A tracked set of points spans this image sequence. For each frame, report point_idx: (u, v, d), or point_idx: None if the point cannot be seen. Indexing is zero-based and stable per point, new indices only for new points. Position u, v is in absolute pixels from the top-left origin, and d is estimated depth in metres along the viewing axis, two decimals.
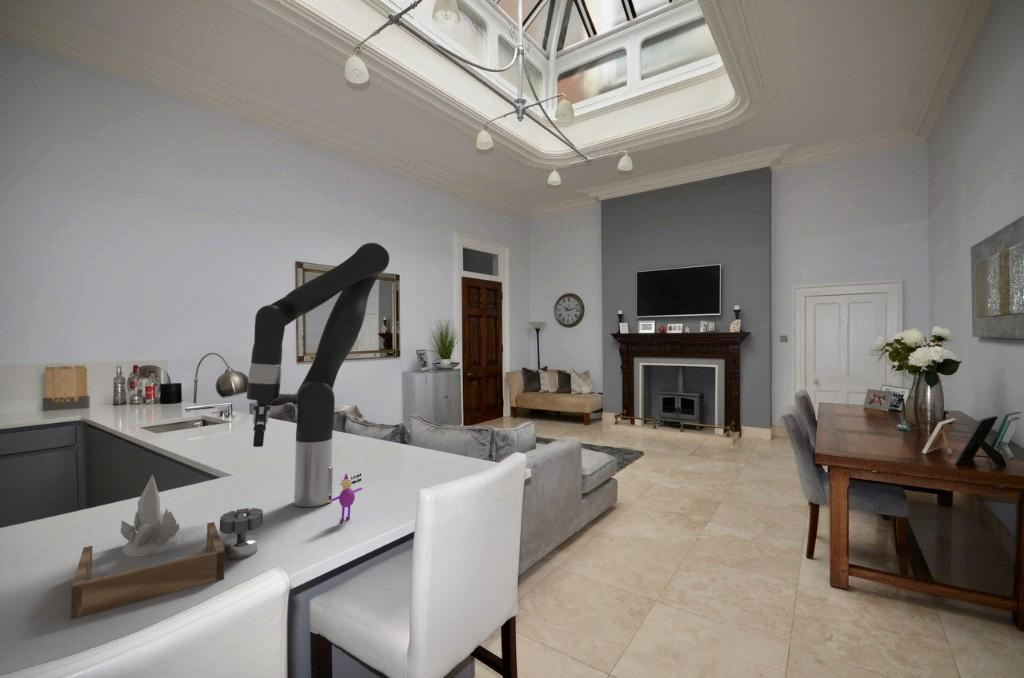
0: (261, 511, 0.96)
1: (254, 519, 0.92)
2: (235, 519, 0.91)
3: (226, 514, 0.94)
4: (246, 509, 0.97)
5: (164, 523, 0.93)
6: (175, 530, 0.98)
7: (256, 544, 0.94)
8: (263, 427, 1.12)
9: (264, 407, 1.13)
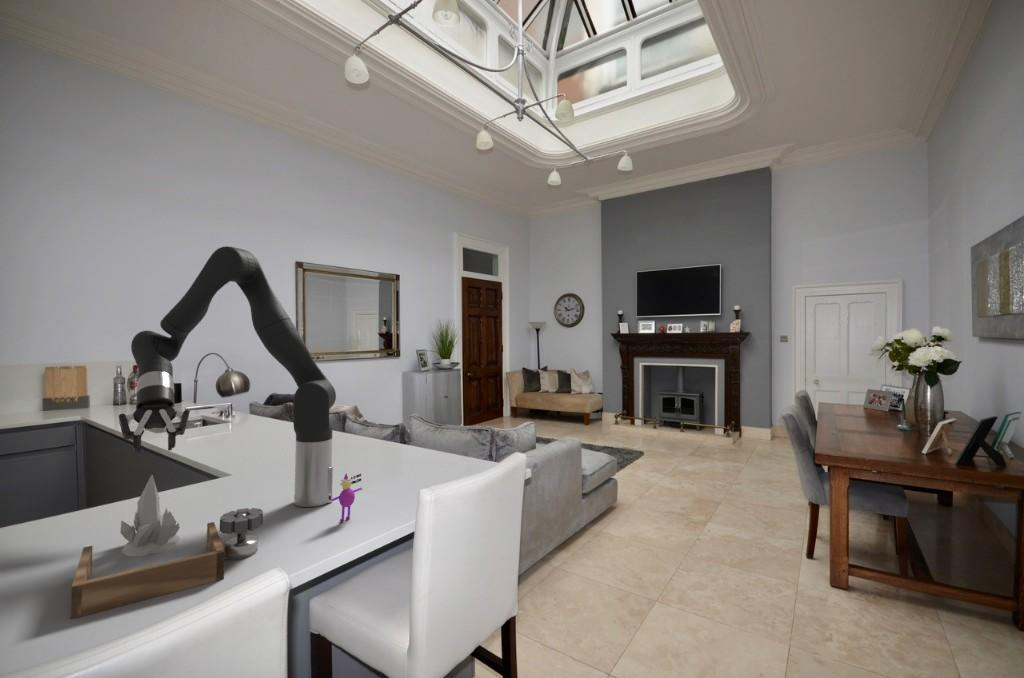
0: (261, 511, 0.96)
1: (254, 519, 0.92)
2: (235, 519, 0.91)
3: (226, 514, 0.94)
4: (246, 509, 0.97)
5: (164, 523, 0.93)
6: (175, 530, 0.98)
7: (256, 544, 0.94)
8: None
9: None
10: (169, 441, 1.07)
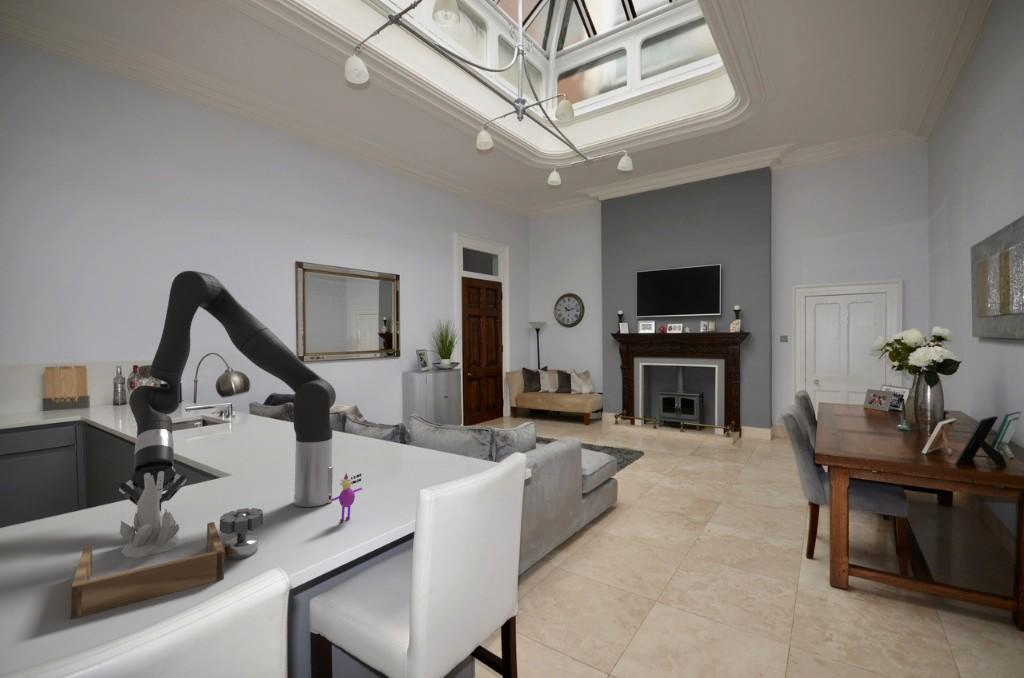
0: (261, 511, 0.96)
1: (254, 519, 0.92)
2: (235, 519, 0.91)
3: (226, 514, 0.94)
4: (246, 509, 0.97)
5: (163, 524, 0.93)
6: (174, 531, 0.98)
7: (256, 544, 0.94)
8: None
9: None
10: None
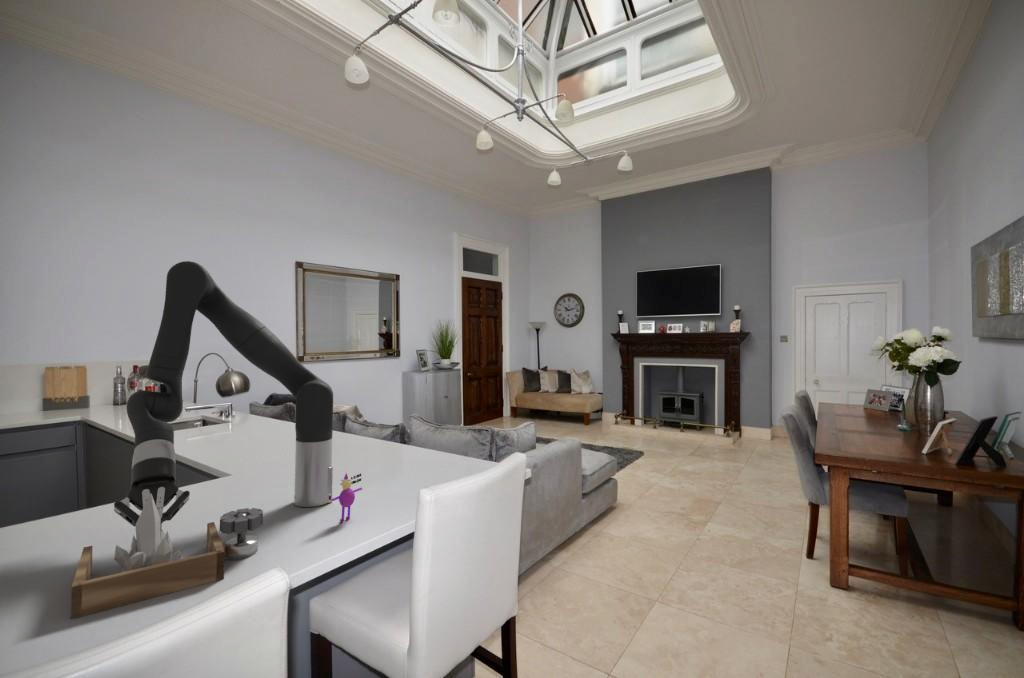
0: (261, 511, 0.96)
1: (254, 519, 0.92)
2: (235, 519, 0.91)
3: (226, 514, 0.94)
4: (246, 509, 0.97)
5: (157, 552, 0.80)
6: (175, 558, 0.86)
7: (256, 544, 0.94)
8: None
9: None
10: None
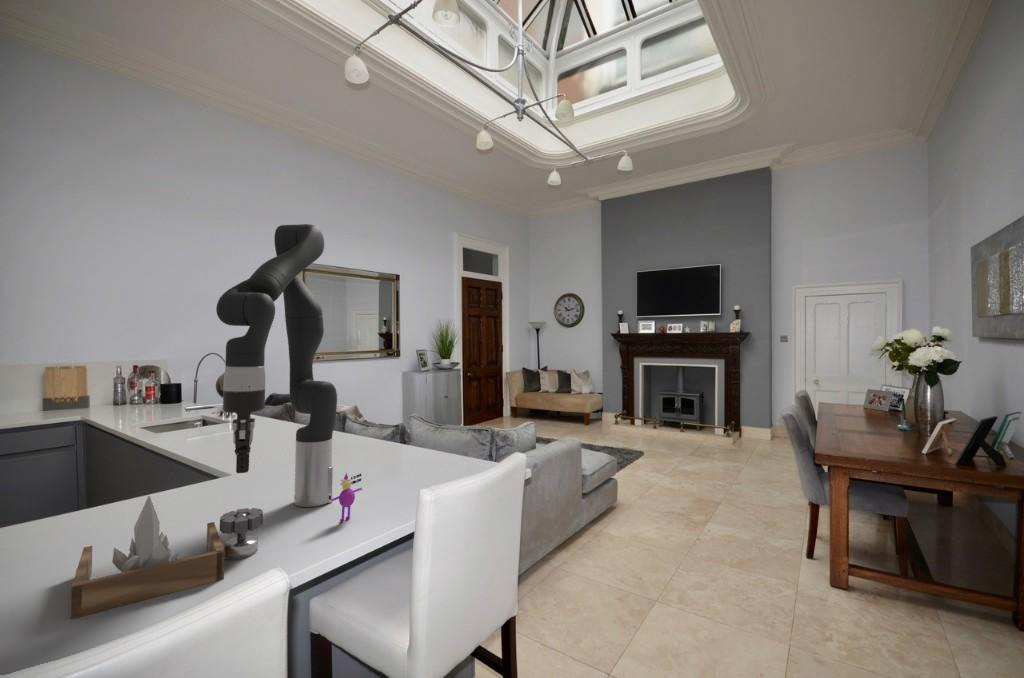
0: (261, 511, 0.96)
1: (254, 519, 0.92)
2: (235, 519, 0.91)
3: (226, 514, 0.94)
4: (246, 509, 0.97)
5: (154, 556, 0.79)
6: None
7: (256, 544, 0.94)
8: (247, 449, 0.91)
9: (245, 432, 0.89)
10: None
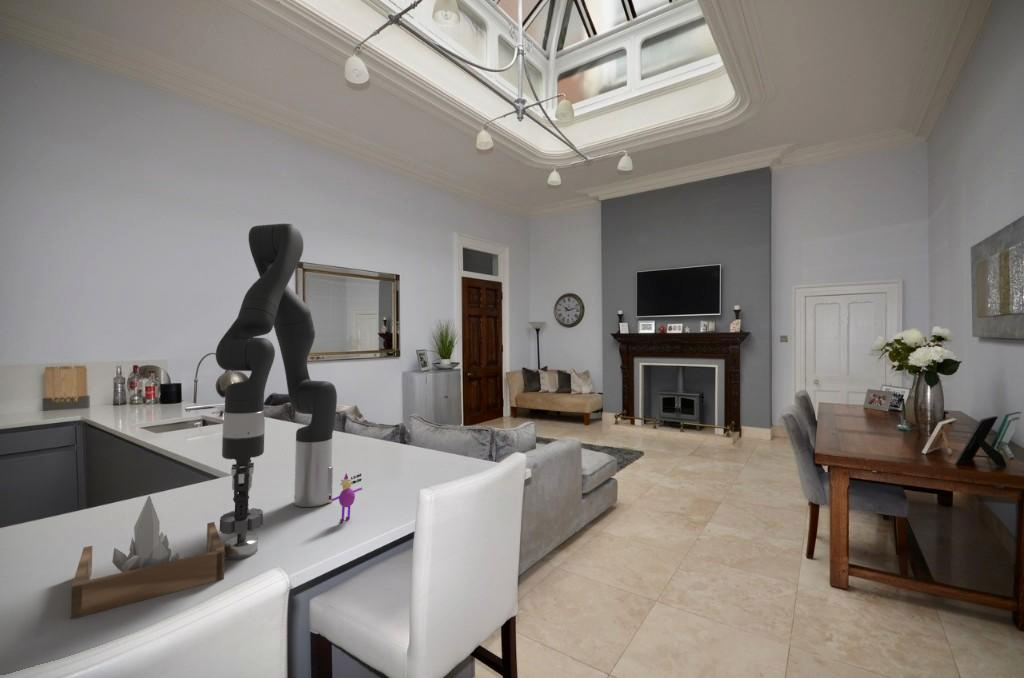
0: (261, 511, 0.96)
1: (254, 519, 0.92)
2: None
3: (226, 514, 0.94)
4: None
5: (154, 556, 0.79)
6: None
7: (256, 544, 0.94)
8: (245, 497, 0.89)
9: (244, 475, 0.88)
10: None
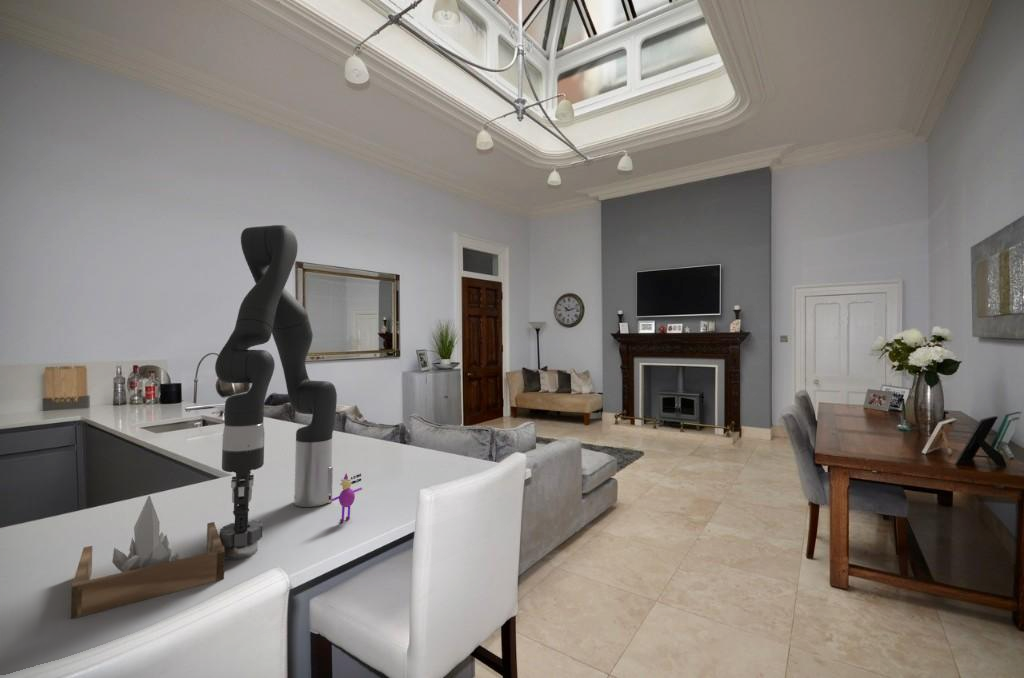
0: (261, 523, 0.96)
1: (254, 531, 0.92)
2: None
3: (226, 526, 0.94)
4: None
5: (154, 556, 0.79)
6: None
7: (256, 544, 0.94)
8: (245, 510, 0.89)
9: (244, 488, 0.88)
10: None
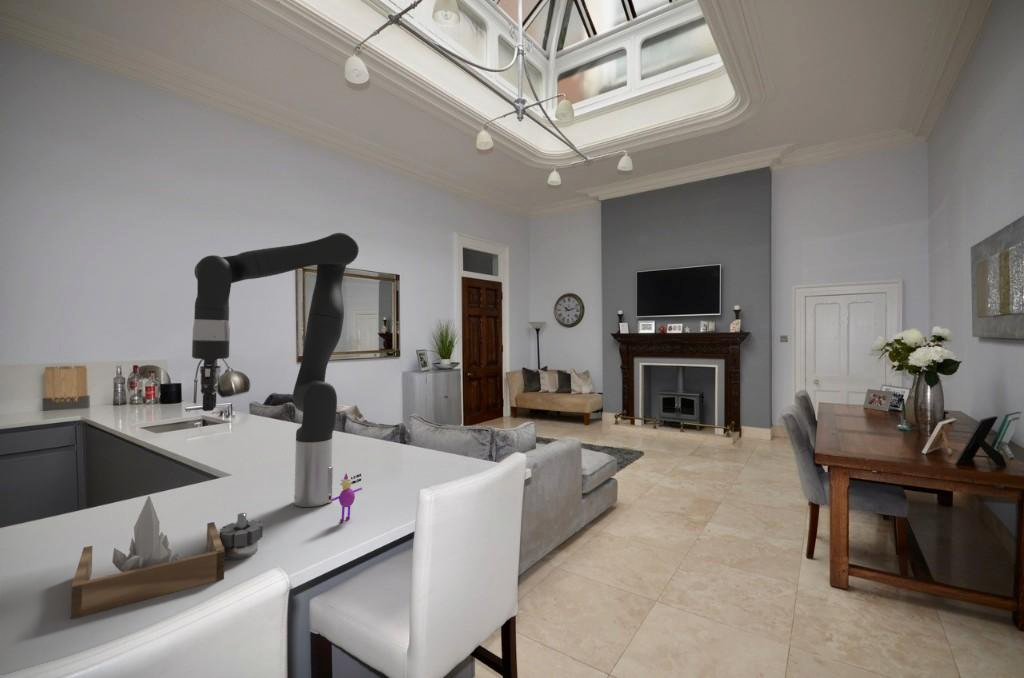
0: (261, 523, 0.96)
1: (254, 531, 0.92)
2: (235, 532, 0.91)
3: (226, 526, 0.94)
4: (246, 521, 0.97)
5: (153, 556, 0.79)
6: None
7: (256, 544, 0.94)
8: (211, 389, 1.05)
9: (210, 369, 1.04)
10: None
